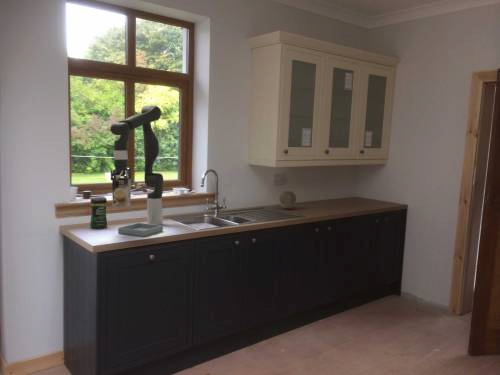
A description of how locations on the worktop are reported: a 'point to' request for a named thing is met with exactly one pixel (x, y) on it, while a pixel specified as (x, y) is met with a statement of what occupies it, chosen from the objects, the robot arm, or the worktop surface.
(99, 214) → the coffee jar
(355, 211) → the worktop surface
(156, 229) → the tray
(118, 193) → the coffee box
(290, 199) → the cantaloupe
